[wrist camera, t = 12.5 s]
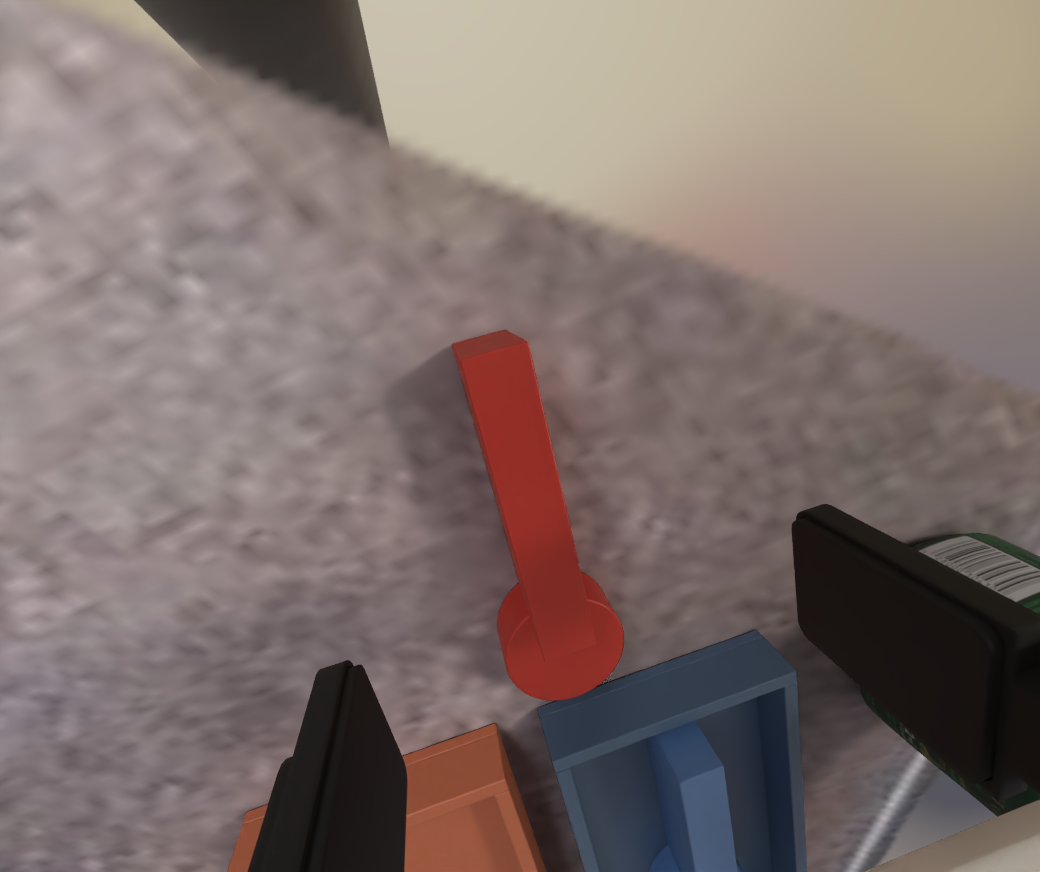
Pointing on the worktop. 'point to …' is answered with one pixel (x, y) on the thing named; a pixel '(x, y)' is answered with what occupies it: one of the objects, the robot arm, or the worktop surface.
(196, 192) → the worktop surface
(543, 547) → the red bar with disc
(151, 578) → the worktop surface
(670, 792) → the blue bar with disc
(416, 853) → the tray orange
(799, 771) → the tray blue
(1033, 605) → the coffee jar
